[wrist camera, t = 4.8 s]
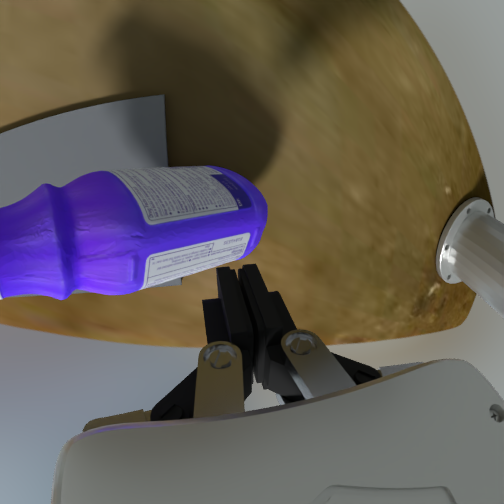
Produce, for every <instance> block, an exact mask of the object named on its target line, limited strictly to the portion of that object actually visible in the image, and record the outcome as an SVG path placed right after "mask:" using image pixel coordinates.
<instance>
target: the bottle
mask: <svg viewBox="0 0 504 504" xmlns="http://www.w3.org/2000/svg"><path fill="white" fill-rule="evenodd" d="M266 222H267V203H266V201H265V199H264V197H263V195H262V194H261V192H260V191H259V190H258V189H257V188H256V187H255V186H254V185H253V184H252V183H251V182H250V181H248V180H247V179H246V178H244V177H243V176H241V175H239V174H237V173H235V172H233V171H231V170H228V169H225V168H222V167H217V166H184V167H160V168H141V169H125V170H112V171H96V172H91V173H88V174H85V175H83V176H80V177H78V178H76V179H75V180H73V181H71V182H70V183H68V184H66V185H65V186H63V187H55V186H53V185H51V184H47V183H45V184H42V185H41V186H39V187H38V188H37V189H36V190H34V191H33V192H32V193H31V194H29V195H28V196H26V197H25V198H23V199H22V200H20V201H18V202H16V203H14V204H11V205H8V206H5V207H2V208H0V299H3V298H4V297H9V296H16V295H22V294H39V295H45V296H50V297H54V298H56V299H59V300H63V299H66V298H68V297H69V296H70V294H71V293H72V292H73V291H74V290H76V289H78V290H85V291H89V292H95V293H101V294H106V295H123V294H128V293H132V292H135V291H138V290H141V289H145V288H148V287H151V286H154V285H158V284H161V283H164V282H167V281H170V280H173V279H177V278H180V277H184V276H187V275H190V274H194V273H197V272H200V271H203V270H206V269H209V268H212V267H215V266H218V265H221V264H225V263H228V262H231V261H234V260H239V259H242V258H244V257H245V256H247V255H248V254H249V253H251V252H252V251H253V250H254V248H255V247H256V246H257V245H258V243H259V241H260V238H261V235H262V232H263V230H264V228H265V225H266Z"/></svg>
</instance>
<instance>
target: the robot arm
mask: <svg viewBox="0 0 504 504" xmlns="http://www.w3.org/2000/svg"><path fill="white" fill-rule="evenodd" d="M436 267H437V271H438V274H439V275H440V277H441V278H442V279H443V280H444V281H446V282H448V283H458V282H461V281H463V282H464V283H465V284H466V285H468V286H469V287H470V288H471V289H472V290H473V291H474V292H475V293H477V294H478V295H479V296H480V297H481V298H482V299H483V300H484V301H485V302H486V303H488V304H489V305H490V306H491V307H492V308H493V309H494V310H495V311H496V312H497V313H498V314H499V315H500V316H501V317H502V318H503V319H504V224H503V223H501V222H500V221H498V220H496V219H495V218H494V213H493V210H492V207H491V205H490V204H489V203H488V202H487V201H486V200H484V199H482V198H479V197H474V198H470V199H468V200H467V201H465V202H464V203H463V204H461V205H460V206H459V207H458V208H457V210H456V211H455V212H454V213H453V215H452V216H451V218H450V219H449V221H448V223H447V224H446V226H445V228H444V230H443V233H442V235H441V238H440V241H439V244H438V249H437V254H436ZM216 272H217V286H218V298H216V299H207V300H202V303H203V311H204V319H205V327H206V335H207V343H208V345H206V346H205V347H203V348H202V350H201V351H200V354H199V358H198V367H197V368H196V369H195V370H194V371H193V372H191V374H189V375H188V376H187V377H186V378H185V379H184V380H183V381H182V382H181V383H180V384H178V385H177V386H176V387H175V388H174V389H173V390H172V391H171V392H170V393H168V394H167V395H166V396H165V397H164V398H163V399H162V400H160V401H159V402H158V403H157V404H156V405H155V406H154V408H153V409H152V410H149V411H145V412H144V411H143V409H142V410H138V411H133V412H128V413H124V414H119V415H114V416H109V417H104V418H98V419H94V420H92V421H89V422H88V423H87V424H86V425H85V427H84V429H83V433H80V434H78V435H76V436H74V437H73V438H71V439H70V440H68V441H67V442H66V443H65V444H64V446H63V447H62V449H61V451H60V453H59V456H58V458H57V462H56V466H55V471H54V477H53V484H52V497H51V498H52V499H51V504H504V400H503V399H502V398H501V396H500V395H499V394H498V392H497V391H496V390H495V388H494V387H493V386H492V385H491V383H490V382H489V381H488V380H487V379H486V378H485V377H484V375H483V374H482V373H481V372H480V371H479V370H478V369H477V368H475V367H474V366H473V365H472V364H470V363H468V362H467V361H464V360H460V359H441V360H434V361H430V362H426V363H423V362H416V363H409V364H401V365H393V366H385V367H380V368H379V370H376V369H374V368H372V367H370V366H368V365H365V364H362V363H359V362H356V361H353V360H351V359H348V358H345V357H342V356H340V355H337V354H334V353H332V352H330V351H329V349H328V348H327V347H326V346H325V344H324V343H323V342H322V340H321V339H320V338H319V337H318V336H317V335H316V334H315V333H313V332H311V331H308V330H301V329H298V330H297V328H296V326H295V324H294V322H293V320H292V318H291V316H290V314H289V312H288V310H287V308H286V306H285V304H284V301H283V299H282V297H281V295H280V293H279V292H278V291H274V292H268V290H267V288H266V285H265V283H264V281H263V279H262V276H261V274H260V272H259V269H258V267H257V265H256V264H248V265H243V267H242V269H238V278H237V275H236V272H235V269H233V270H230V267H219V268H216ZM253 372H254V375H255V378H256V382H257V383H261V382H262V386H263V389H269V390H271V391H273V392H275V393H276V397H277V400H278V402H279V404H280V405H279V406H274V407H269V408H263V409H258V410H252V411H247V412H245V409H244V401H245V399H246V398H247V397H248V396H249V395H250V394H251V392H252V384H253Z"/></svg>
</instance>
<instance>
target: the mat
mask: <svg viewBox="0 0 504 504" xmlns="http://www.w3.org/2000/svg"><path fill="white" fill-rule="evenodd" d="M160 167H168V154H167V139H166V120H165V95H156V96H148V97H141V98H134V99H128V100H122V101H116V102H110V103H105V104H100V105H95V106H91V107H86V108H82V109H78V110H74V111H70V112H66V113H62V114H58V115H55V116H51V117H48V118H44V119H41V120H38V121H35V122H32V123H29V124H26V125H23V126H20V127H17V128H14V129H11V130H9V131H6V132H4V133H1V134H0V208H2V207H5V206H8V205H11V204H14V203H16V202H18V201H20V200H22V199H23V198H25V197H26V196H28V195H29V194H31V193H32V192H33V191H34V190H36V189H37V188H38V187H39V186H41V185H42V184H45V183H47V184H51V185H53V186H55V187H63V186H65V185H66V184H68V183H70V182H71V181H73V180H75V179H76V178H78V177H80V176H83V175H85V174H88V173H91V172H96V171H112V170H125V169H141V168H160ZM173 285H182V280H181V277H180V278H177V279H173V280H170V281H167V282H164V283H161V284H158V285H154V286H151V287H162V286H173ZM151 287H148V288H151ZM88 292H89V291H85V290H78V289H76V290H74V291H73V292H72V293H71V294H74V293H88ZM24 296H42V295H39V294H22V295H16V296H9V297H24Z"/></svg>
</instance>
